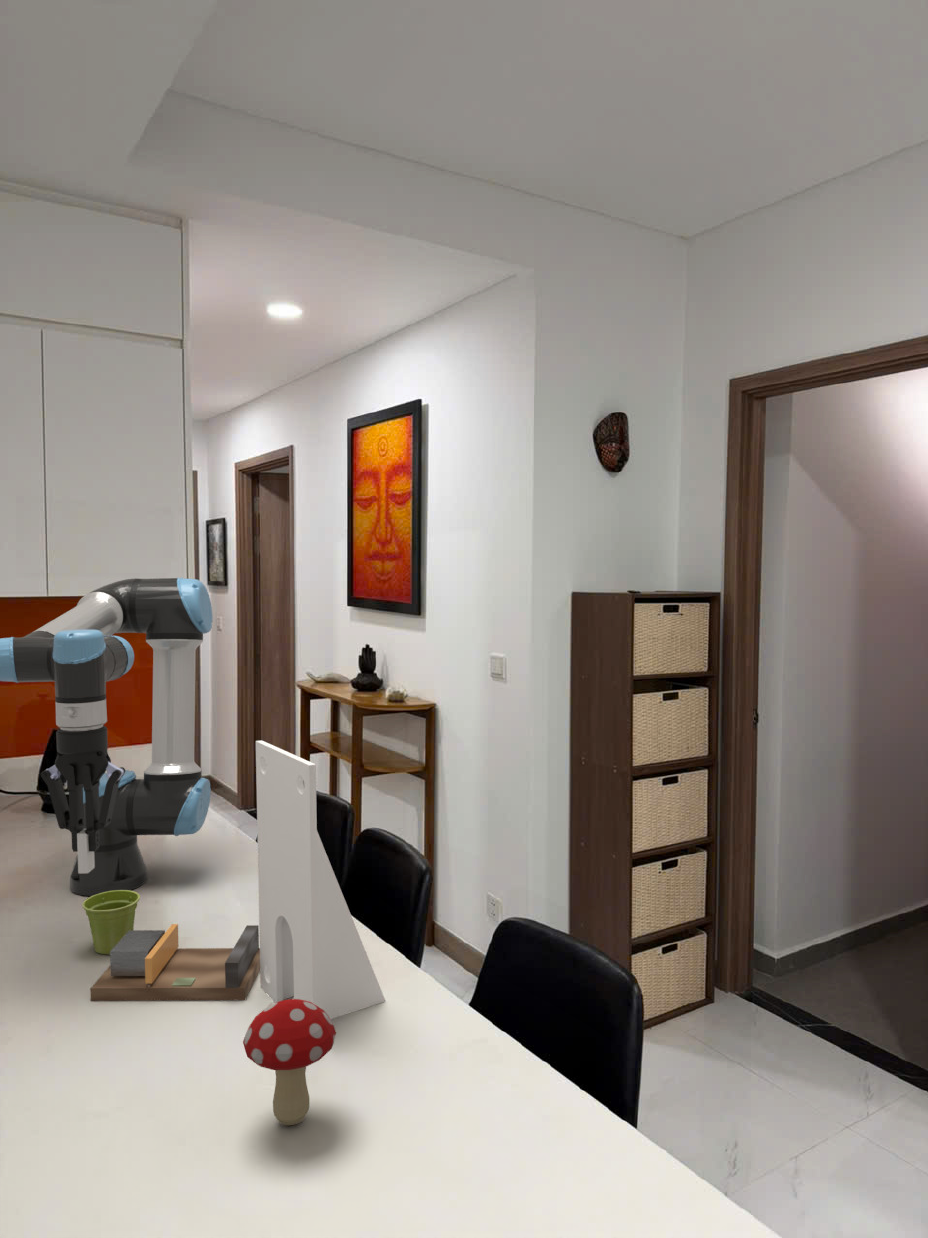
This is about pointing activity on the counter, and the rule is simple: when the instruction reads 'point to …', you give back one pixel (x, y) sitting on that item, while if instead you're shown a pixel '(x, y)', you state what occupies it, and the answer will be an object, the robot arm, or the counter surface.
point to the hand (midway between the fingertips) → (86, 870)
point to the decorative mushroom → (289, 1051)
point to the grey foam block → (133, 952)
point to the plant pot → (110, 917)
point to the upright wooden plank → (161, 953)
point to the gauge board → (191, 975)
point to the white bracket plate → (303, 897)
